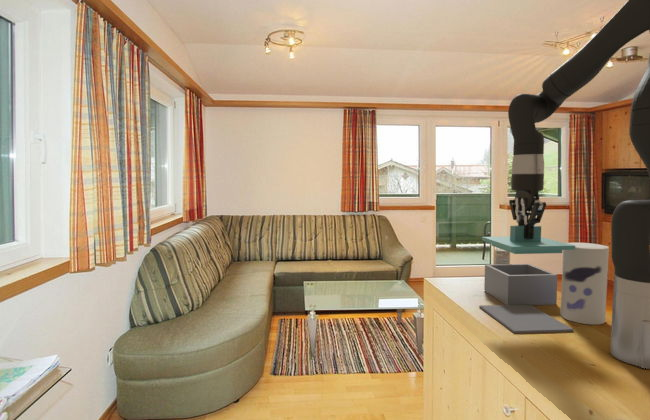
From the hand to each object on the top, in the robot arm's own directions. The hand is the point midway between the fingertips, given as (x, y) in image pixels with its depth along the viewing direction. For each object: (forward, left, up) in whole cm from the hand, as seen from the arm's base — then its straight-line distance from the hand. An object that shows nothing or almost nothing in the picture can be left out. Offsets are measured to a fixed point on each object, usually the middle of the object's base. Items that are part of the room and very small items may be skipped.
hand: (525, 237), depth 102 cm
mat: (0, 0, -22) cm, 22 cm away
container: (-1, -16, -22) cm, 27 cm away
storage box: (+18, -9, -22) cm, 30 cm away
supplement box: (+33, -11, -22) cm, 41 cm away
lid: (0, 0, -3) cm, 3 cm away
